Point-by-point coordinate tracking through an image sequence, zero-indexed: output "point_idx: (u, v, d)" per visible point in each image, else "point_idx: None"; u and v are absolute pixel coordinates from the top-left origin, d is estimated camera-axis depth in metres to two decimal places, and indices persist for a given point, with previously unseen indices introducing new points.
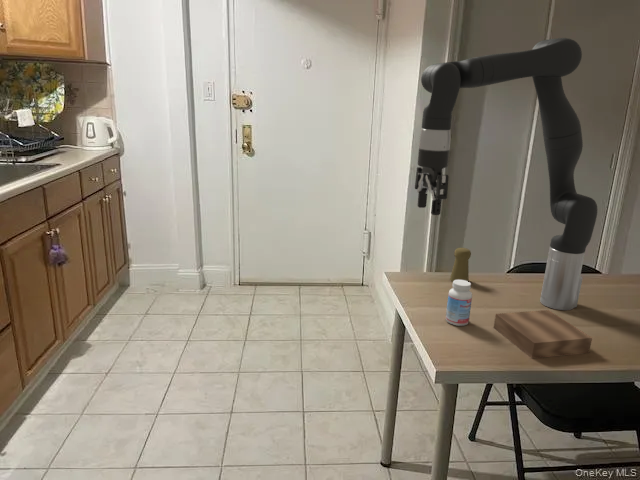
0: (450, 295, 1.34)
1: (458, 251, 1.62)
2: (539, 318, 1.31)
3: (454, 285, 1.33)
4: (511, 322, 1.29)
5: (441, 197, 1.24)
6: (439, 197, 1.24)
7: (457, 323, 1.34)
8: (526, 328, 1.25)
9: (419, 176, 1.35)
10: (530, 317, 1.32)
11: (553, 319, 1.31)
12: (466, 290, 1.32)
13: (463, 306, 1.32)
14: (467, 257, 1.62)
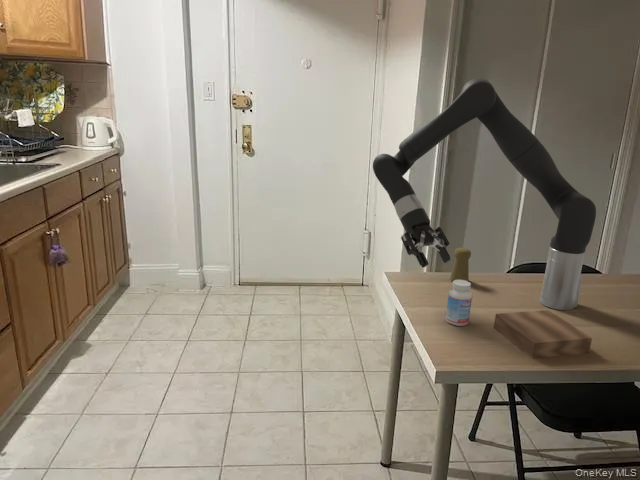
0: (450, 295, 1.34)
1: (458, 251, 1.62)
2: (539, 318, 1.31)
3: (454, 285, 1.33)
4: (511, 322, 1.29)
5: (409, 251, 1.38)
6: (408, 252, 1.39)
7: (457, 323, 1.34)
8: (526, 328, 1.25)
9: None
10: (530, 317, 1.32)
11: (553, 319, 1.31)
12: (466, 290, 1.32)
13: (463, 306, 1.32)
14: (467, 257, 1.62)
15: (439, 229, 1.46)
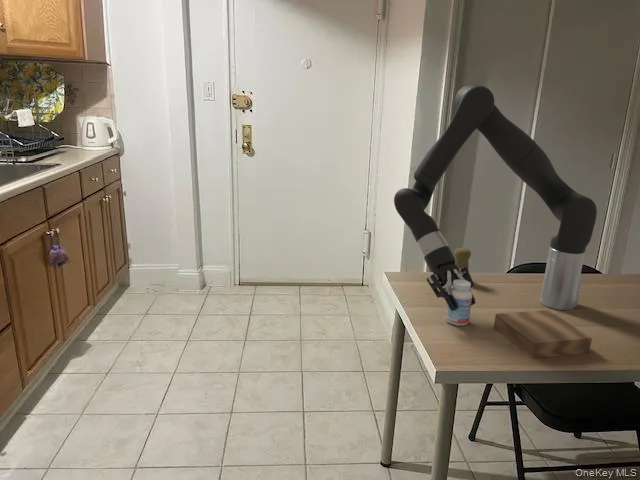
0: None
1: (458, 251, 1.62)
2: (539, 318, 1.31)
3: (454, 285, 1.33)
4: (511, 322, 1.29)
5: (438, 294, 1.33)
6: (437, 295, 1.33)
7: (457, 323, 1.34)
8: (526, 328, 1.25)
9: None
10: (530, 317, 1.32)
11: (553, 319, 1.31)
12: (466, 290, 1.32)
13: (463, 306, 1.32)
14: (467, 257, 1.62)
15: (465, 269, 1.40)
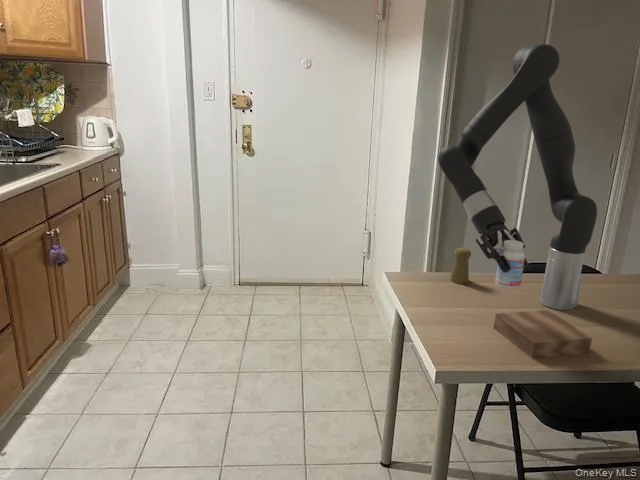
0: None
1: (458, 251, 1.62)
2: (539, 318, 1.31)
3: (505, 245, 1.25)
4: (511, 322, 1.29)
5: (489, 255, 1.25)
6: (488, 256, 1.25)
7: (509, 286, 1.26)
8: (526, 328, 1.25)
9: None
10: (530, 317, 1.32)
11: (553, 319, 1.31)
12: (519, 250, 1.24)
13: (516, 267, 1.24)
14: (467, 257, 1.62)
15: (515, 230, 1.32)
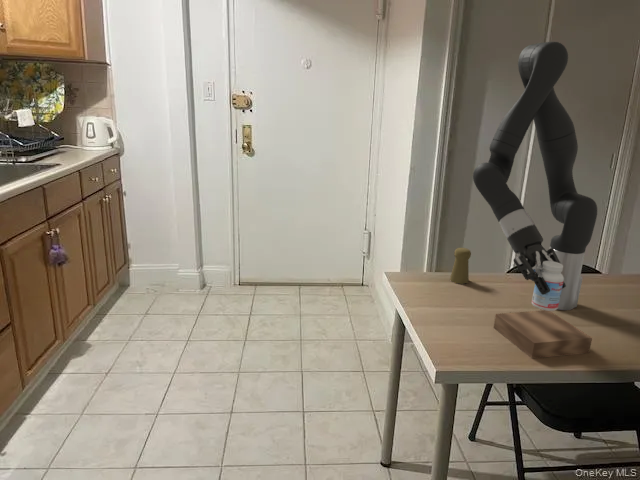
0: None
1: (458, 251, 1.62)
2: (539, 318, 1.31)
3: (545, 266, 1.22)
4: (511, 322, 1.29)
5: (528, 276, 1.22)
6: (526, 277, 1.22)
7: (547, 308, 1.23)
8: (526, 328, 1.25)
9: None
10: (530, 317, 1.32)
11: (553, 319, 1.31)
12: (558, 272, 1.21)
13: (555, 289, 1.22)
14: (467, 257, 1.62)
15: (552, 250, 1.29)
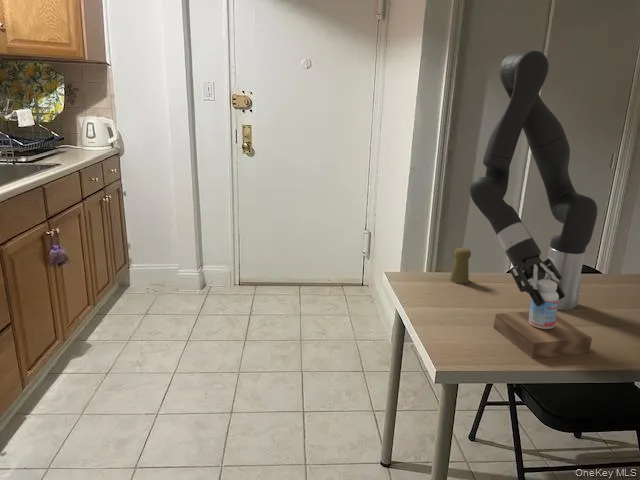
0: None
1: (458, 251, 1.62)
2: None
3: (539, 286, 1.24)
4: (511, 322, 1.29)
5: (523, 288, 1.23)
6: (521, 289, 1.23)
7: (544, 326, 1.25)
8: (526, 328, 1.25)
9: None
10: None
11: None
12: (553, 291, 1.23)
13: (550, 308, 1.23)
14: (467, 257, 1.62)
15: (549, 261, 1.30)
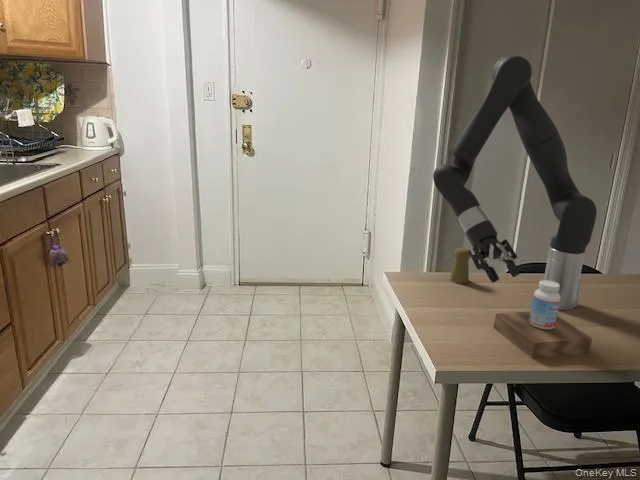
0: (537, 297, 1.24)
1: (458, 251, 1.62)
2: None
3: (542, 286, 1.24)
4: (511, 322, 1.29)
5: (479, 266, 1.33)
6: (477, 267, 1.33)
7: (544, 327, 1.25)
8: (526, 328, 1.25)
9: None
10: None
11: None
12: (555, 291, 1.23)
13: (552, 308, 1.23)
14: (467, 257, 1.62)
15: (506, 242, 1.40)
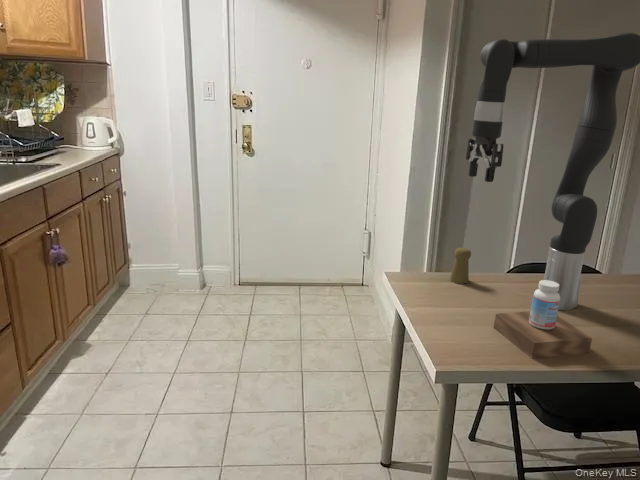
0: (537, 297, 1.24)
1: (458, 251, 1.62)
2: None
3: (541, 286, 1.24)
4: (511, 322, 1.29)
5: (496, 164, 1.34)
6: (494, 164, 1.34)
7: (544, 327, 1.25)
8: (526, 328, 1.25)
9: (471, 147, 1.45)
10: None
11: None
12: (555, 291, 1.23)
13: (552, 308, 1.23)
14: (467, 257, 1.62)
15: None
